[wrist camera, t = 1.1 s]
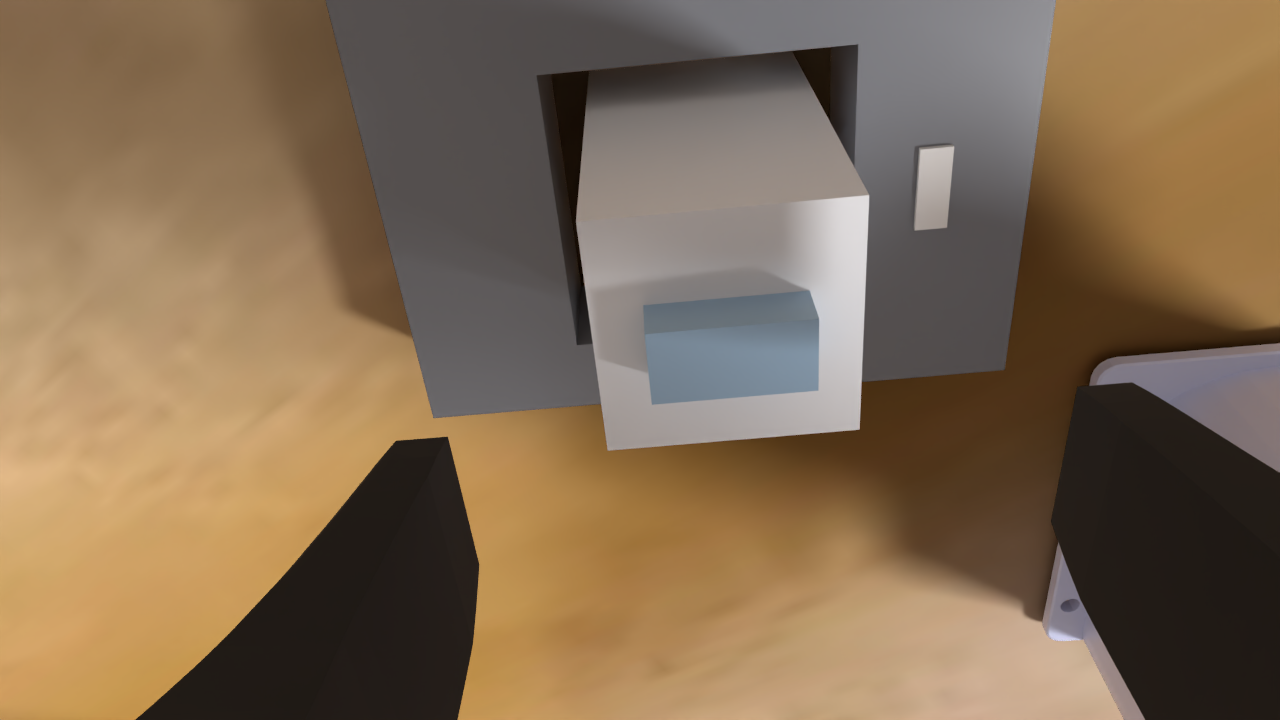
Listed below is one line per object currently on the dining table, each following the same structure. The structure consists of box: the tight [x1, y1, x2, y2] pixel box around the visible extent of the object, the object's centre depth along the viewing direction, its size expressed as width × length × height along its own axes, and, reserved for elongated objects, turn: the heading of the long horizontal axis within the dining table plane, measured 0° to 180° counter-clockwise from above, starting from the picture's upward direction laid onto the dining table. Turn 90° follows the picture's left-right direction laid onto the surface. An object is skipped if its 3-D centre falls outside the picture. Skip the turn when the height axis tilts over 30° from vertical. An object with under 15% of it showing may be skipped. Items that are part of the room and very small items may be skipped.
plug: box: [576, 51, 869, 451], centre depth 17 cm, size 4×4×8 cm
